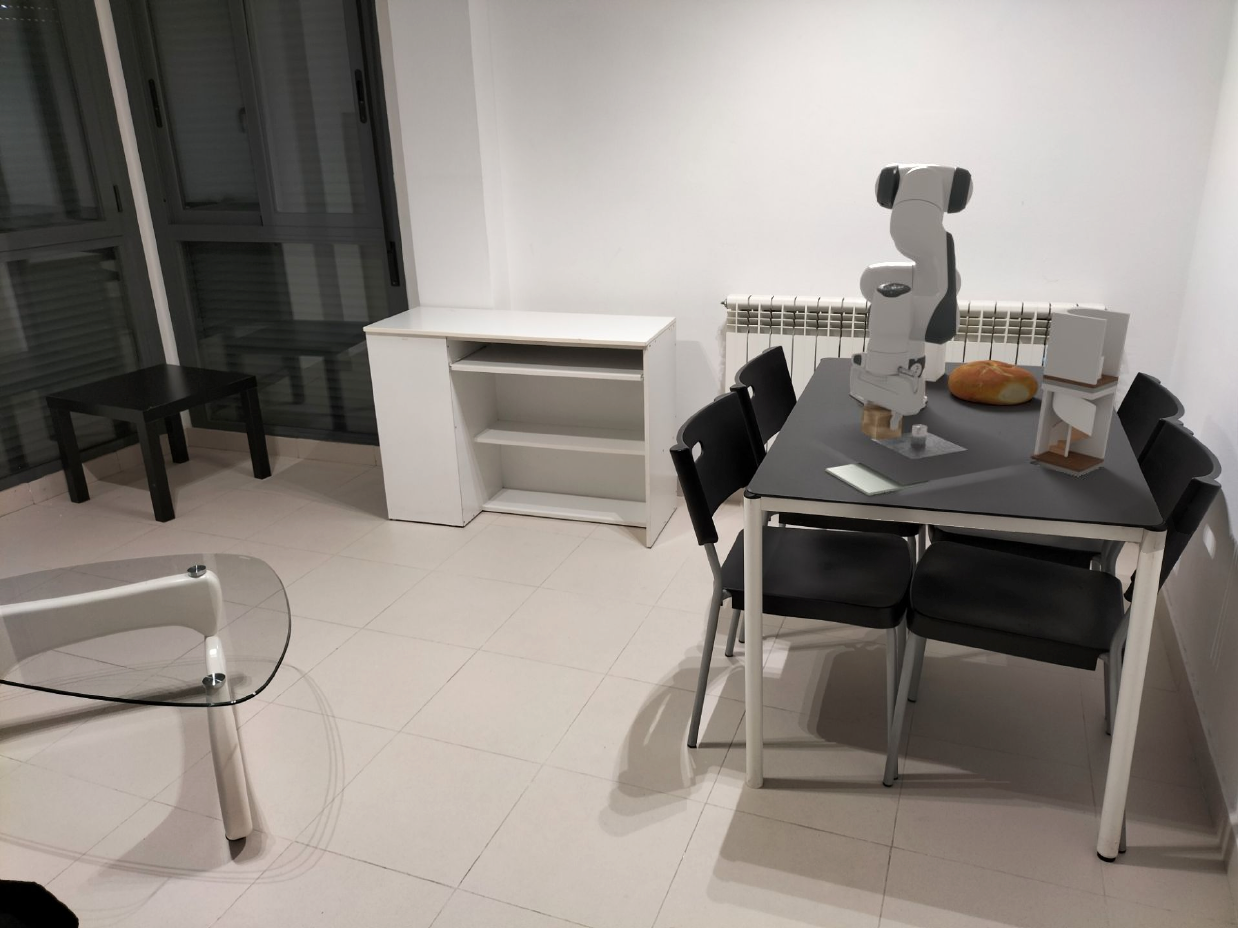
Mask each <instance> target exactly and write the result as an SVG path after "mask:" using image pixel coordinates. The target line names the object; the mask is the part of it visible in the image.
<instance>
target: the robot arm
mask: <svg viewBox="0 0 1238 928" xmlns="http://www.w3.org/2000/svg"><path fill="white" fill-rule="evenodd" d="M973 192H974V182H973V179H972V173H970V170H968V169H966V168H962V167H958V166H955V167H951V166H946V165H941V164H934V163H933V164H932V163H927V164H921V163H920V164H919V163H917V164H915V163H913V164H912V163H910V164H909V163H908V164H900V163H891V164H887V165H886V166H884V167H883V168H882V169H881V171H880V172H879V174H878V175H877V178H876V181H875V185H874V194H875V197H876V203H877V204H878V205H879V206H880V207H881V208H884V209H887V210H891V214H890V218H889V219H890V221H889V234H890V237H891V239H892V240H893V243H894V246H895V248H896V250H897V251H898V252H899V254H901V255H902V256H903V257H905V258H907V259H909V260H911V261H912V262H905V261H904V262H897V261H896V262H894V261H893V262H892V261H890V262H889V261H887V262H885V261H884V262H881V263H874V264H870V265H868V266H866V268H865V269H864V270H863V271H862V274H861V277H860V279H859V288H860V293H861V295H862V296H863V297H864V299H865V300H866V301H867V302H868V303H870V305H869V306H868V309H867V319H866V328H867V330H868V331H869V332H868V333H869V339H868V342H867V344H866V351H863V352H862V351H861V352H856V353H852V354H851V358H850V361H851V364H852V365H851V368H850V375H849V388H850V389H849V390H850V392H849V395H850V396H851V397H853V398H854V399H855V400H857V401H860V403H862V404H863V406H867V405H874V404H878V405H881V406H883V407H886V408H888V409H890V410H891V414H892V415H893V416H892V418H891V420H888V422H887V424H888V425H887V428H889V429H891V430H896V429H898V423H899V421H900V419H901V418H902V416H906V417H907V416H912V415H914V416H915V415H917V414H919V412H920V411H921V409H923V408H925V407H926V402H928V396H926V380H925V373H924V372H923V369H924V368H925V363H926V356H925V355H924V353H925V343H926V342H928V343H934V344H940V345H942V344H944V343H946V344H947V342H949V341H951V340H952V339H954V338H955V337H956V336H957V334H958V331H959V329H960V324H961V312H960V307H959V303H958V298H957V296H959V292H960V290H961V287H962V277H961V274H960V272H959V270H958V269H957V261H956V260H957V259H956V252H955V251H956V250H955V240H954V236H953V234H952V233H950V232H949V231H947V230H946V229H945V227H944V225H943V220H944V213H946V214H948V215H949V214H958V213H961V212H963V210H965V209H966V207H967V206H968V204H969V203H970V200H971V198H972V196H973ZM902 419H903V418H902Z"/></svg>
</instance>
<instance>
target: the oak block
mask: <svg viewBox="0 0 1238 928" xmlns="http://www.w3.org/2000/svg"><path fill="white" fill-rule="evenodd" d="M892 416H893V415H892V414H891V410H890V409H888V408H886V407H883V406H881V405H878V404H874V405H867V406H864V405H862V414H861V427H860V433H862V434H864V435H866V436H869V437H871V439H872V438H874V439H876V440H882V439H888V438H894V437H901V434H902V426H903V416H904V415H903V416H902V418H901V419H900V421H899V423H898V429H896V430H891V429H889V428H887V425H888V424H887V422H888V420H891V418H892Z"/></svg>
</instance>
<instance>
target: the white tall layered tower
mask: <svg viewBox="0 0 1238 928" xmlns="http://www.w3.org/2000/svg"><path fill="white" fill-rule="evenodd" d="M1130 316H1131V313H1129V312H1121V311H1113V310H1107V309H1100V308H1093V307H1086V306H1079V305H1076V306H1073V307H1069V308H1063V309H1060V310H1057V311H1053V312H1052V315H1051V320H1050V328H1049V336H1048V341H1047V347H1046V349H1047V351H1046V353H1045V354H1046V355H1045V358H1046V361H1045V367H1044V366H1043V367H1044V368H1043V375H1042V382H1041V388H1040V389H1041V390H1043V392H1042V398H1041V406H1040V411H1039V412H1040V413H1039V418H1038V427H1037V433H1036V438H1035V445H1034V446H1035V447H1034V453H1033V454H1031V456H1030V457H1031V459H1035V460H1033V461H1030V462H1029V464H1030V463H1032V464H1031V465H1033V464H1034V466H1037V465H1040V466H1042V467H1041V468H1044V467H1046V468H1045V469H1047V468H1049V469H1048V470H1051V469H1053V470H1052V471H1054V470H1056V471H1055V472H1058V471H1061V472H1065V473H1067V474H1066V475H1068V474H1072V475H1074V476H1073V477H1075V476H1081V475H1083V474H1085V475H1087V474H1088V473H1087V472H1090V471H1092V472H1094V471H1096V470H1098V469H1100V468H1099V467H1101V468H1102V466H1103V465H1104V462H1105V461H1104V460H1105V455H1106V449H1107V443H1108V438H1109V433H1110V429H1111V421H1112V418H1113V417H1112V416H1113V411H1114V405H1115V399H1116V395H1117V390H1118V389H1117V388H1118V382H1119V377H1120V371H1121V367H1122V360H1123V354H1124V350H1125V344H1126V338H1127V334H1128V327H1129V321H1130ZM1040 466H1039V467H1040ZM1095 469H1096V470H1095ZM1093 470H1094V471H1093ZM1061 472H1060V473H1061ZM1065 473H1064V474H1065ZM1086 473H1087V474H1086ZM1090 473H1091V472H1090ZM1072 475H1071V476H1072ZM1083 476H1084V475H1083ZM1081 477H1082V476H1081Z"/></svg>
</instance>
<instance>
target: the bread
mask: <svg viewBox="0 0 1238 928" xmlns="http://www.w3.org/2000/svg"><path fill="white" fill-rule="evenodd" d="M947 382H948V383H947V385H948V388H949V391H950V393H952V395H954V396H955V397H957V398H958V399H961V400H964V401H967V402H974V403H981V404H987V405H988V404H989V405H996V406H999V405H1000V406H1012V405H1019V404H1023V403H1027V402H1028V401H1030V400H1031V399H1032V398H1034V397H1035V396H1036V395H1037V393H1038V390H1039V382H1038V380H1037V378H1036V377H1035V376H1034V375H1033V374H1032V372H1030V371H1028V370H1027V369H1024V368H1022V367H1019V366H1016V365H1014V364H1010V363H1008V362H1003V361H1001V360H1000V361H999V360H992V359H986V360H985V359H984V360H977V361H976V360H974V361H971V362H967V363H965V364H961V365H959V366H957V367H956V368H954V370H952V371H951V373H950V375H949V377H948V381H947Z"/></svg>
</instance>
